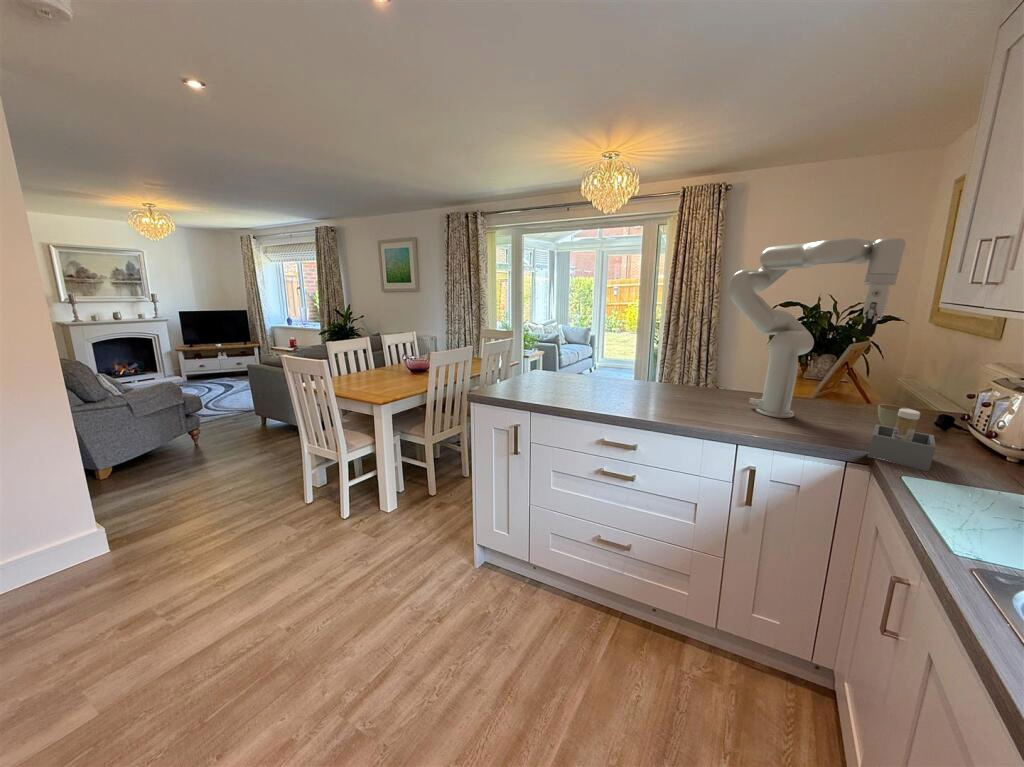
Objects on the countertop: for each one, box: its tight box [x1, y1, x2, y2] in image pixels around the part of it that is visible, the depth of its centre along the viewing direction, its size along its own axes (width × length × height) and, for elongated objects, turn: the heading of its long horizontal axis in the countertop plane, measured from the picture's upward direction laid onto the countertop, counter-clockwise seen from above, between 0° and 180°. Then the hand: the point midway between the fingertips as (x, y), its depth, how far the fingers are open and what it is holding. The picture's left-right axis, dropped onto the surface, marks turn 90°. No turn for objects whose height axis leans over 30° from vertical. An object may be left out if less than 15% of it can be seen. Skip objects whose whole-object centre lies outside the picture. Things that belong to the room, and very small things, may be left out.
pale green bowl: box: [877, 404, 913, 428], centre depth 148 cm, size 10×10×7 cm
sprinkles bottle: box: [892, 408, 921, 442], centre depth 121 cm, size 5×5×14 cm
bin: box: [867, 423, 937, 472], centre depth 122 cm, size 13×13×7 cm
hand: (866, 335), depth 135 cm, fingers open, 9 cm apart
